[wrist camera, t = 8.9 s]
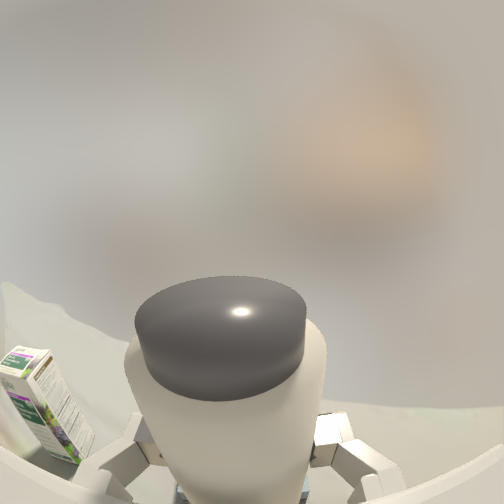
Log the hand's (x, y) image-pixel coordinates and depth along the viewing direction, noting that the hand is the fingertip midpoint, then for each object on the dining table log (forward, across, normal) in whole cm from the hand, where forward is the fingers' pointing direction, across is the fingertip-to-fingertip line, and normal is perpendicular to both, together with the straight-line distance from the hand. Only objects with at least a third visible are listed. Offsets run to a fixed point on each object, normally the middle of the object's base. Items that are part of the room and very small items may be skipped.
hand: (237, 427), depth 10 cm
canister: (-1, 0, +8) cm, 8 cm away
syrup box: (+8, +23, +20) cm, 32 cm away
